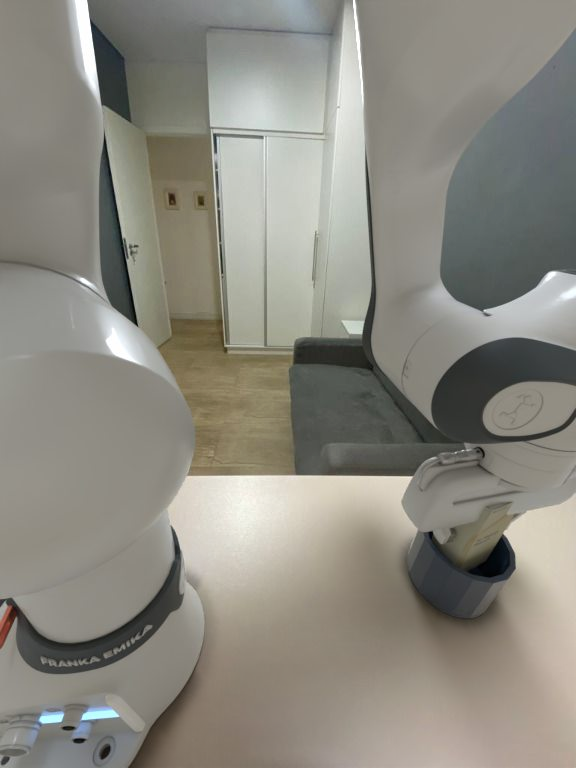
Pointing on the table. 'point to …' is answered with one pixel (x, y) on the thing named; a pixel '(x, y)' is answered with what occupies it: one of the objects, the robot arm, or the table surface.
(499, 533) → the cosmetic box
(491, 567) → the blue round bowl
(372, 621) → the table surface
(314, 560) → the table surface
